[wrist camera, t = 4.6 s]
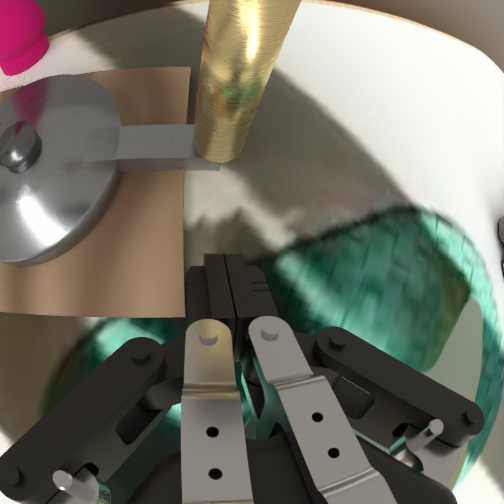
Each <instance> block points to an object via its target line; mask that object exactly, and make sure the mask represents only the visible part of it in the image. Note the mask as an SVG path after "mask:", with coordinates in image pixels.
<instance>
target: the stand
mask: <svg viewBox="0 0 504 504" xmlns="http://www.w3.org/2000/svg"><path fill="white" fill-rule="evenodd" d="M190 72H191V67H146V68H130V69H118V70H108V71H99V72H92V73H85V74H78V75H79V76H83V77H87V78H90V79H92V80H94V81H96V82H98V83H99V84H101V85H102V86H104V88H105V89H106V90H107V91H108V92H109V93H110V94H111V96H112V97H113V99H114V101H115V103H116V106H117V108H118V111H119V115H120V119H121V123H122V126H135V125H167V124H187V109H188V96H189V84H190ZM25 86H26V85H25ZM22 87H24V86H21V87H17V88H14V89H10V90H7V91H3V92H0V103H1V102H2V101H3V100H4V99H6V98H7V97H8V96H10V95H11V94H12V93H14V92H16V91H17V90H19V89H20V88H22ZM183 207H184V170H159V171H127V172H123V175H122V178H121V182H120V185H119V187H118V190H117V192H116V194H115V196H114V199H113V200H112V202H111V204H110V206H109V207H108V209H107V211H106V212H105V214H104V215H103V217H102V218H101V220H100V221H99V222H98V224H97V225H96V226H95V227H94V228H93V229H92V231H91V232H90V233H89V234H88V235H87V236H86V237H85V238H84V239H83V240H82V241H81V242H79V243H78V244H77V245H76V246H74V247H73V248H72V249H71V250H69V251H68V252H66V253H65V254H63V255H61V256H59V257H58V258H56V259H54V260H51V261H49V262H47V263H44V264H40V265H36V266H29V267H17V266H11V265H8V264H4V263H1V262H0V312H10V313H23V314H37V315H55V316H79V317H130V318H146V317H186V316H185V293H184V251H183Z"/></svg>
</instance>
